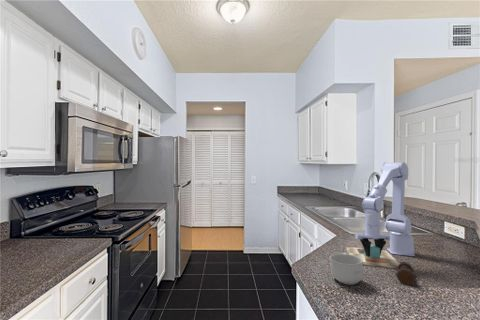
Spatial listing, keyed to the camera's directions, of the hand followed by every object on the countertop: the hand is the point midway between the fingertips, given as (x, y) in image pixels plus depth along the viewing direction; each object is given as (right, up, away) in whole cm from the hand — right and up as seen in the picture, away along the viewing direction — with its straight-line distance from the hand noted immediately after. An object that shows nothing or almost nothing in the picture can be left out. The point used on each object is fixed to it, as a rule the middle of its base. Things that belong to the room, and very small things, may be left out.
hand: (372, 256), depth 105 cm
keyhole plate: (+1, -2, +3) cm, 4 cm away
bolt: (+3, -2, -16) cm, 17 cm away
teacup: (-20, -1, -19) cm, 28 cm away
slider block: (0, -2, 0) cm, 2 cm away
